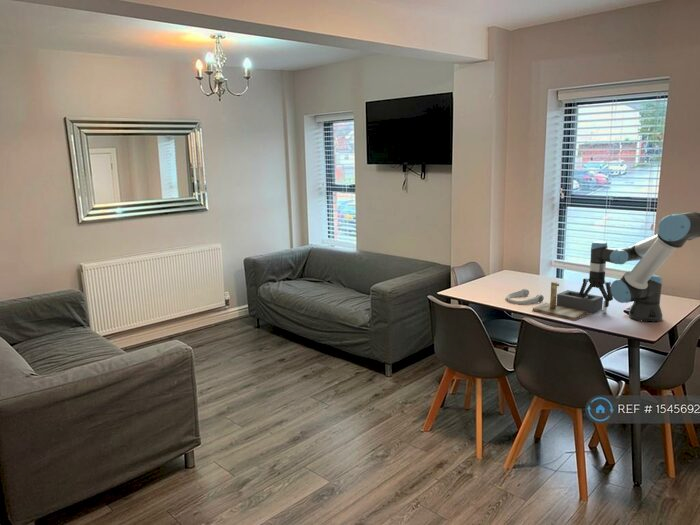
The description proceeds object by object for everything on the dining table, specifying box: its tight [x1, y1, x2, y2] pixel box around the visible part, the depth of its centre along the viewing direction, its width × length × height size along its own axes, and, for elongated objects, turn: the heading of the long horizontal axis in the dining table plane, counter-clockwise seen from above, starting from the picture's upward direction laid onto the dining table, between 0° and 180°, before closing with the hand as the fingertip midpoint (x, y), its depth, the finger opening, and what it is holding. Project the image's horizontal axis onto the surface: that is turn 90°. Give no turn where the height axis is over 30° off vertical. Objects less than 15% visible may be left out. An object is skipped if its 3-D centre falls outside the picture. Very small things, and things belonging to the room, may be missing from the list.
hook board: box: [531, 281, 589, 321], centre depth 279 cm, size 24×14×16 cm, turn 40°
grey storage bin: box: [556, 289, 604, 314], centre depth 288 cm, size 20×12×7 cm, turn 40°
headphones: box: [506, 288, 544, 305], centre depth 306 cm, size 18×17×5 cm
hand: (594, 310), depth 282 cm, fingers open, 10 cm apart
